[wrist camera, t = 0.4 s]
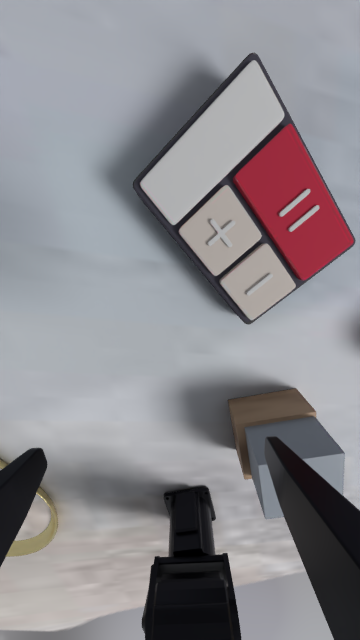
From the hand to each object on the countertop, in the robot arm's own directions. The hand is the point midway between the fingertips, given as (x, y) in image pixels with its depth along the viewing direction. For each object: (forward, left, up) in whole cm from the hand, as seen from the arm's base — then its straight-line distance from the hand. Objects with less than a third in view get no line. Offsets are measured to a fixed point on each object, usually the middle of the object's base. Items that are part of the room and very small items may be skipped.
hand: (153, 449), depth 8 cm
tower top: (-14, -9, -10) cm, 20 cm away
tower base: (-14, -9, -14) cm, 22 cm away
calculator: (+9, -8, -15) cm, 19 cm away
